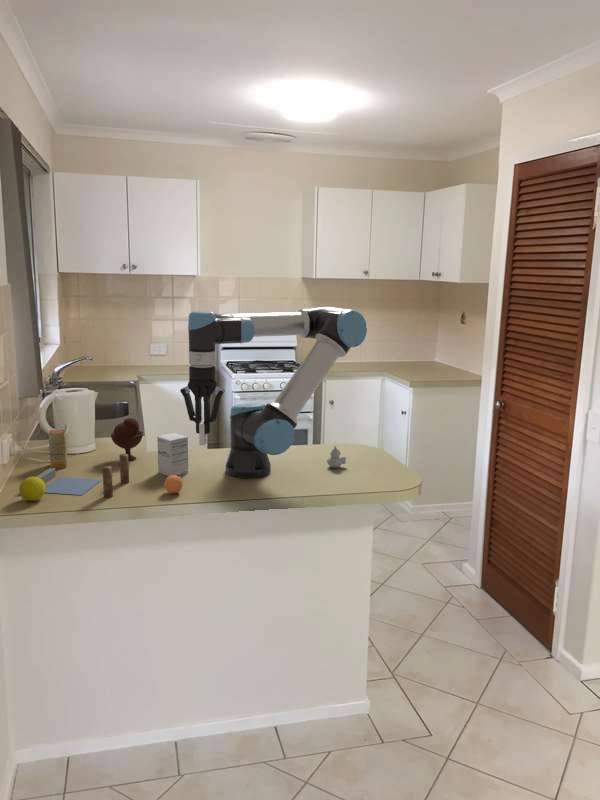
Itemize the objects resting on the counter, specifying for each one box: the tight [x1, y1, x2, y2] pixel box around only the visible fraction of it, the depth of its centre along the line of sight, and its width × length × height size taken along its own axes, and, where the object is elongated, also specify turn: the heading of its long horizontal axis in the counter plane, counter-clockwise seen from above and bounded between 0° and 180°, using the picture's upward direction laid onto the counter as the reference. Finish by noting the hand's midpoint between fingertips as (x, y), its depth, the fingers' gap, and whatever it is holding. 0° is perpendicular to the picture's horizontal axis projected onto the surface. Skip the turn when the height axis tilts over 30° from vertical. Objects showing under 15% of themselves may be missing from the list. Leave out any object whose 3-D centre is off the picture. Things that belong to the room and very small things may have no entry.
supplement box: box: [156, 432, 189, 477], centre depth 215 cm, size 7×7×13 cm
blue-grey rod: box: [35, 467, 57, 484], centre depth 203 cm, size 2×16×2 cm, turn 173°
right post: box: [119, 453, 130, 485], centre depth 205 cm, size 3×3×9 cm
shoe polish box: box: [48, 429, 68, 469], centre depth 220 cm, size 5×5×12 cm
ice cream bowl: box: [110, 417, 144, 462], centre depth 228 cm, size 11×11×15 cm
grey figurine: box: [326, 445, 347, 469], centre depth 224 cm, size 5×7×8 cm
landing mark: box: [44, 476, 103, 496], centre depth 202 cm, size 14×14×1 cm
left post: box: [102, 465, 114, 499], centre depth 193 cm, size 3×3×9 cm
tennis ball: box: [18, 476, 46, 502], centre depth 189 cm, size 7×7×7 cm
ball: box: [163, 475, 184, 494], centre depth 197 cm, size 6×6×6 cm
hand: (203, 444), depth 193 cm, fingers closed
